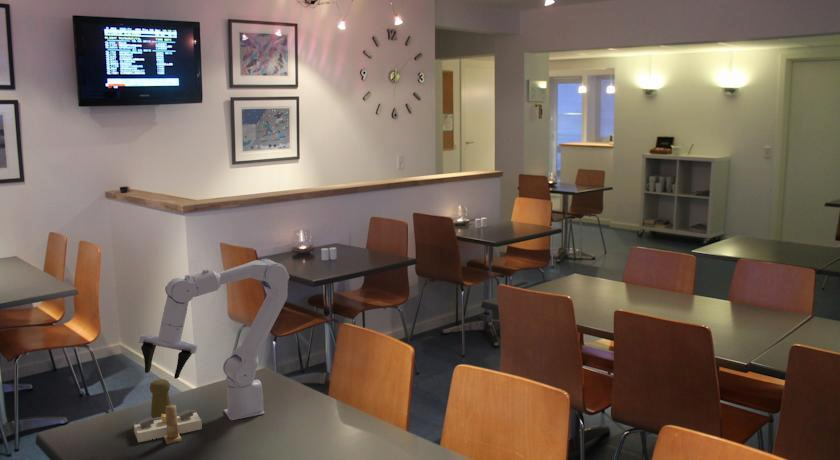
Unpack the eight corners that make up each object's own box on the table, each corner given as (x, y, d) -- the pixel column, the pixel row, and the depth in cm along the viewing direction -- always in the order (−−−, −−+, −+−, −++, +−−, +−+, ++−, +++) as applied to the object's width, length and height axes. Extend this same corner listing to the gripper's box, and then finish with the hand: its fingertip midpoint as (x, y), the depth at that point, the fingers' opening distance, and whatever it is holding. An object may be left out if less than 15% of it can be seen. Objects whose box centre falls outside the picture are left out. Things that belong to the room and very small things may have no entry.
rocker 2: (173, 418, 196) (173, 414, 196) (175, 421, 194) (175, 417, 194) (160, 418, 194) (161, 414, 194) (162, 421, 192) (163, 417, 192)
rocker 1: (152, 420, 193) (151, 416, 193) (154, 423, 191) (152, 419, 191) (140, 424, 192) (138, 420, 192) (141, 428, 190) (140, 424, 190)
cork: (166, 424, 199) (163, 385, 197) (146, 422, 200) (143, 383, 198) (177, 415, 205) (175, 377, 203) (158, 413, 206) (155, 376, 204)
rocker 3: (191, 412, 198) (190, 408, 198) (193, 415, 196) (192, 411, 196) (179, 417, 197) (178, 413, 196) (181, 420, 195) (180, 416, 194)
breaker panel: (196, 419, 201) (195, 409, 201) (201, 429, 195) (201, 418, 195) (134, 432, 194) (133, 422, 193) (138, 442, 188) (137, 431, 187)
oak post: (178, 435, 191) (176, 402, 190) (181, 441, 188) (179, 407, 187) (164, 438, 190) (162, 405, 188) (167, 444, 186) (164, 410, 185)
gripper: (139, 320, 187) (128, 372, 187) (196, 332, 188) (185, 383, 188) (148, 316, 194) (138, 366, 195) (203, 327, 195) (192, 377, 195)
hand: (161, 374), depth 192 cm, fingers open, 7 cm apart
